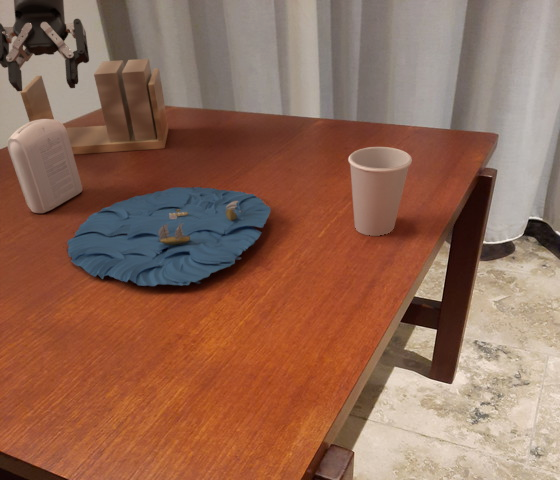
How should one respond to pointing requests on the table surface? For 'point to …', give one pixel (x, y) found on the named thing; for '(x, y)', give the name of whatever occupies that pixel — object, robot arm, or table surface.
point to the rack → (114, 109)
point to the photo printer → (44, 164)
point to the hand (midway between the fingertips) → (44, 87)
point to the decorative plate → (169, 235)
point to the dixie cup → (377, 187)
